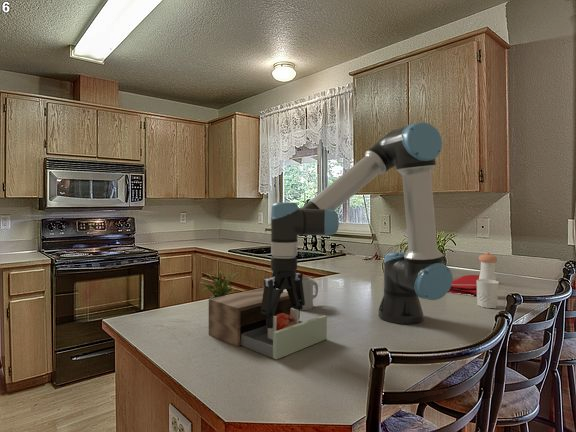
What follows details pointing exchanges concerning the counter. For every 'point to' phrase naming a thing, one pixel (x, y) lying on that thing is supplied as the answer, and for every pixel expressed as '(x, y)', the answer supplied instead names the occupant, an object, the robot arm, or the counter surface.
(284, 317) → the pomegranate
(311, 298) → the mug
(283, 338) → the drawer
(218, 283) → the house plant
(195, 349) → the counter surface
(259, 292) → the cabinet box
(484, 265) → the pepper shaker
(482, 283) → the white cup
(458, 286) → the dish drying mat
